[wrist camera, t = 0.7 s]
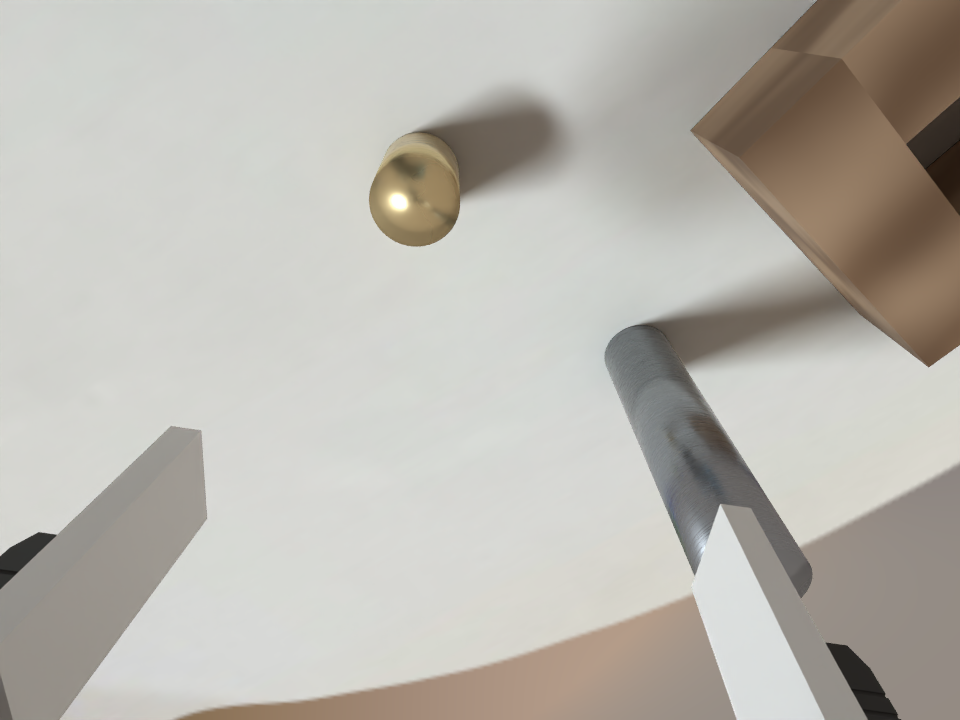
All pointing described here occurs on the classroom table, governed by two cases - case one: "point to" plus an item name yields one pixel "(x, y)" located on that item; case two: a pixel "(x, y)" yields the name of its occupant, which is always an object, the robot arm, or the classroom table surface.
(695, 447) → the long metal pin
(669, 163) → the classroom table surface
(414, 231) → the short brass pin
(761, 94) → the hole block
